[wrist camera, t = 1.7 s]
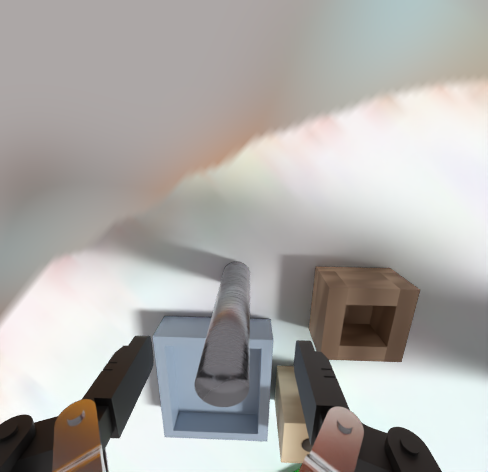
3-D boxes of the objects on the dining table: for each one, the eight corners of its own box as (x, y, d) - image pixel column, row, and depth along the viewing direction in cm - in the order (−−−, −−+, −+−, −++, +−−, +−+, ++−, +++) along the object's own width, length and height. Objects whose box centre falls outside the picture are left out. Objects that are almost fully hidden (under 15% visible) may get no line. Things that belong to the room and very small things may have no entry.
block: (322, 366, 25) (343, 426, 20) (317, 401, 27) (336, 466, 21) (277, 365, 26) (284, 424, 20) (274, 399, 27) (281, 463, 21)
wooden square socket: (390, 268, 22) (420, 289, 18) (377, 330, 24) (401, 362, 20) (315, 266, 22) (329, 287, 18) (308, 328, 24) (319, 359, 20)
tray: (270, 319, 24) (273, 340, 21) (265, 412, 27) (267, 441, 25) (164, 316, 24) (152, 336, 21) (173, 409, 28) (164, 437, 25)
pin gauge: (250, 261, 22) (249, 365, 11) (249, 286, 23) (248, 408, 11) (223, 261, 22) (193, 363, 11) (223, 285, 23) (195, 406, 11)
